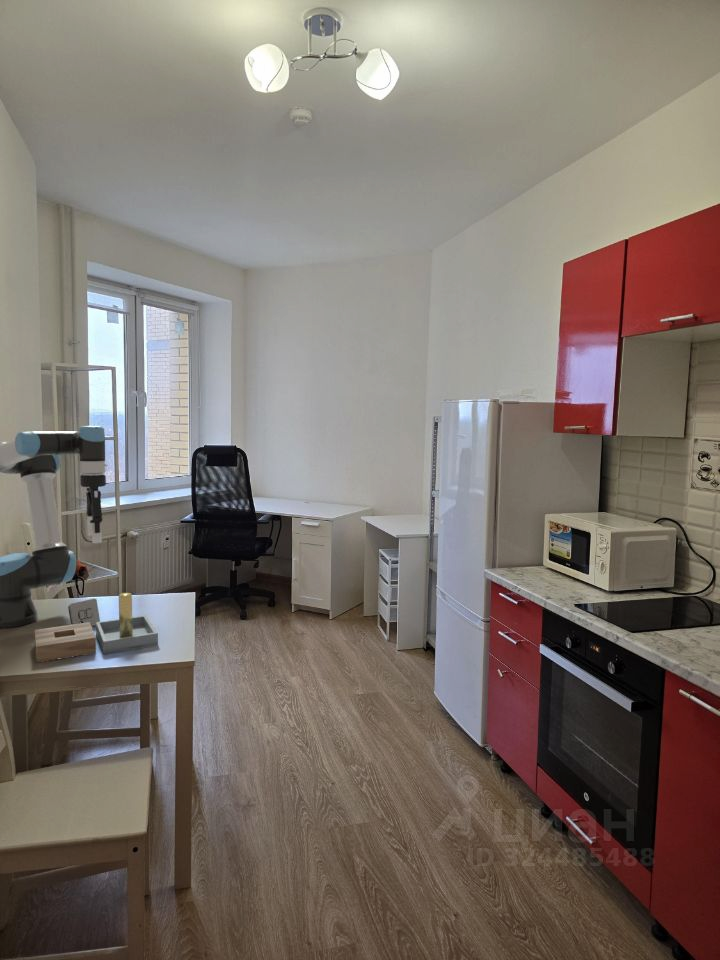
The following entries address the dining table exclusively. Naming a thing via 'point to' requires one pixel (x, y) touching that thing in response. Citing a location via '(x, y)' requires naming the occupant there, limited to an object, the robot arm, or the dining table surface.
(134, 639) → the tray
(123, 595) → the pin
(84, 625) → the block
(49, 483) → the robot arm
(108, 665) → the dining table surface
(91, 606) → the electrical switch
